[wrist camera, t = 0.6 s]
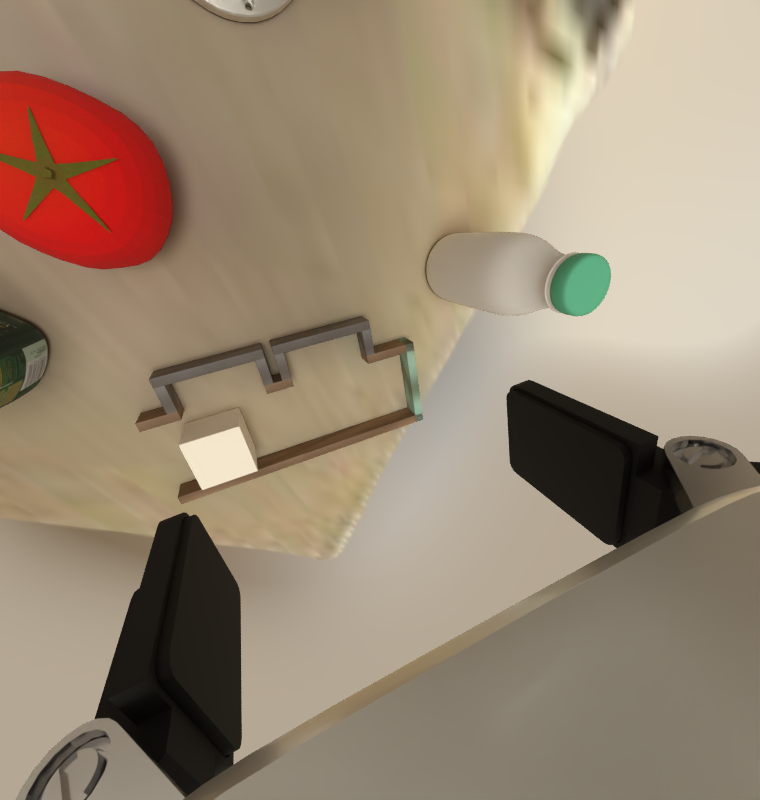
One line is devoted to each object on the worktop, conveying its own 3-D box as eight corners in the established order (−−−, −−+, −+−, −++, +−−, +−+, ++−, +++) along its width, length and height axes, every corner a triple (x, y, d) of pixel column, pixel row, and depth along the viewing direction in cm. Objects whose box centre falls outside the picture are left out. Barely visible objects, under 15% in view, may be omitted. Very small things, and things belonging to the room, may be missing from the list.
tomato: (171, 280, 34) (148, 295, 25) (0, 233, 29) (-104, 231, 20) (189, 151, 31) (171, 116, 22) (2, 71, 26) (-122, -16, 17)
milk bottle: (426, 305, 45) (544, 347, 28) (421, 238, 41) (552, 239, 24) (479, 293, 47) (620, 325, 30) (478, 228, 43) (638, 222, 26)
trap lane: (122, 379, 36) (114, 388, 34) (400, 306, 44) (408, 309, 41) (184, 491, 43) (181, 504, 41) (415, 411, 51) (423, 419, 48)
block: (184, 423, 40) (178, 445, 36) (238, 406, 42) (239, 426, 37) (205, 465, 43) (202, 490, 39) (255, 448, 44) (257, 470, 40)
